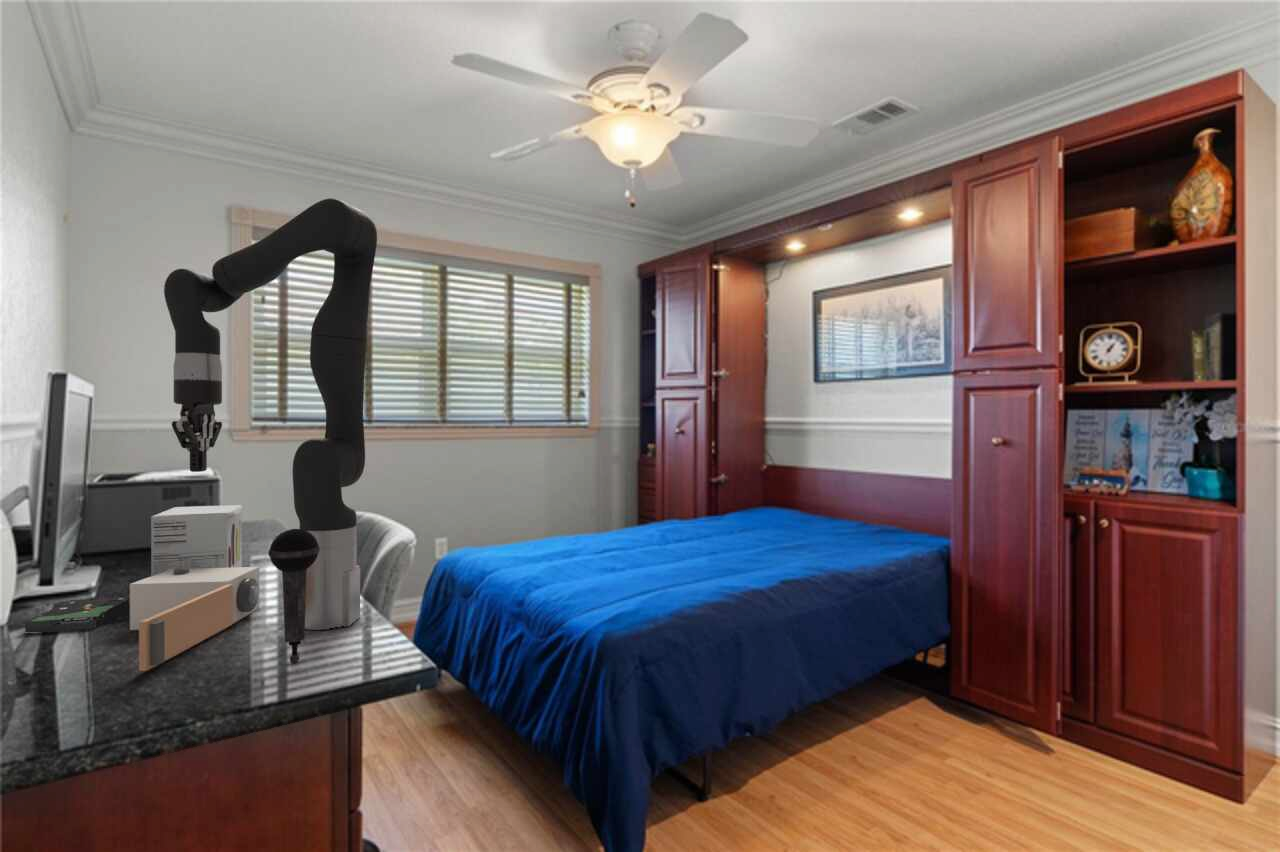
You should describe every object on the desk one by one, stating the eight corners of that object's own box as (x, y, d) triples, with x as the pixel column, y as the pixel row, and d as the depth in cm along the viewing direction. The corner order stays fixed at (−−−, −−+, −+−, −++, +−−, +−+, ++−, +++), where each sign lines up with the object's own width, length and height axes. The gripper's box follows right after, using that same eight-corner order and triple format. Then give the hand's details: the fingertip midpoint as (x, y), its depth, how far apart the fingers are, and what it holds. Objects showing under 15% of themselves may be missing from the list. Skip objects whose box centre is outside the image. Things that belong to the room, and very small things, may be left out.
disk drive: (68, 614, 125) (23, 637, 111) (68, 600, 125) (23, 620, 111) (133, 610, 128) (97, 631, 114) (133, 595, 129) (97, 615, 114)
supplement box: (229, 602, 132) (228, 512, 132) (149, 609, 127) (149, 516, 127) (244, 583, 148) (243, 503, 148) (173, 589, 143) (173, 506, 143)
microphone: (284, 674, 93) (284, 534, 93) (258, 665, 97) (258, 530, 97) (329, 659, 99) (329, 527, 99) (303, 651, 102) (303, 524, 102)
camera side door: (227, 624, 115) (226, 584, 115) (238, 624, 115) (238, 584, 115) (139, 670, 93) (139, 621, 93) (153, 670, 93) (153, 621, 93)
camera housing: (269, 607, 127) (269, 562, 127) (238, 626, 116) (238, 576, 116) (171, 610, 125) (171, 564, 125) (129, 630, 113) (129, 579, 113)
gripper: (200, 376, 116) (200, 473, 116) (237, 381, 129) (237, 469, 129) (154, 376, 115) (154, 474, 115) (196, 381, 128) (196, 469, 128)
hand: (198, 471), depth 122 cm, fingers closed
